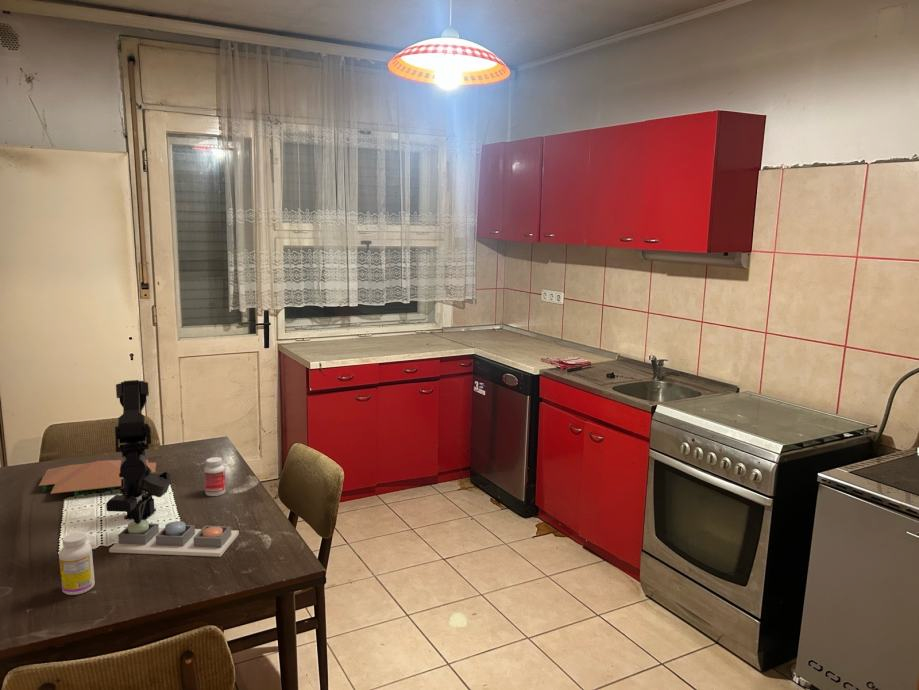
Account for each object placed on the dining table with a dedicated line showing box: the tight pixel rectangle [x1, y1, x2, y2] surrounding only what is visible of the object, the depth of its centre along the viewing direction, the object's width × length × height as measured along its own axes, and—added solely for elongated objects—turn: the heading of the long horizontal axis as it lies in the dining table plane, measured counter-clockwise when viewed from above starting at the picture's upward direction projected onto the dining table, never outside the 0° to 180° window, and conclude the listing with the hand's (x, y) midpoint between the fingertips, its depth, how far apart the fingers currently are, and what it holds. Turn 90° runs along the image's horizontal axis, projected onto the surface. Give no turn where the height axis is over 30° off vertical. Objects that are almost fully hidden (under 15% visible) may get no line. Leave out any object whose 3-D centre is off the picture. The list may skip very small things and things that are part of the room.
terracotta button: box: [203, 527, 223, 537], centre depth 180 cm, size 5×5×2 cm
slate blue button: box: [164, 520, 186, 536], centre depth 180 cm, size 5×5×2 cm
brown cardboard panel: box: [38, 459, 157, 499], centre depth 219 cm, size 23×33×8 cm
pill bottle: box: [203, 456, 227, 497], centre depth 214 cm, size 6×6×11 cm
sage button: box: [127, 519, 149, 534], centre depth 181 cm, size 5×5×2 cm
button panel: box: [108, 523, 240, 558], centre depth 181 cm, size 29×13×4 cm, turn 88°
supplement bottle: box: [58, 532, 96, 596], centre depth 157 cm, size 7×7×13 cm
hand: (138, 522), depth 181 cm, fingers closed
